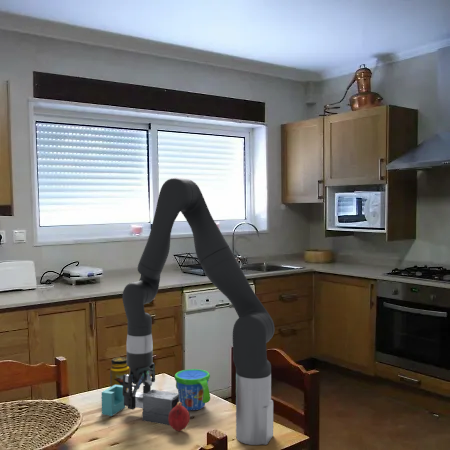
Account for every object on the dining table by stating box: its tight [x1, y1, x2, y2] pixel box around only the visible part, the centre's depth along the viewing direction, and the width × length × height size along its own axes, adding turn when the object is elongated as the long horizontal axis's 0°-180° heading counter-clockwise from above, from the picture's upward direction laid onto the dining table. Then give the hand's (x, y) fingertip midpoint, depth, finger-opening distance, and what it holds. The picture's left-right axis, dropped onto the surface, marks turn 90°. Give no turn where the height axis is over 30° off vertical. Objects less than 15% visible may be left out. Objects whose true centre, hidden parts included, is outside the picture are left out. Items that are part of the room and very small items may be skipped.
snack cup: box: [174, 368, 211, 411], centre depth 154 cm, size 16×10×10 cm
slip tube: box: [124, 390, 146, 409], centre depth 147 cm, size 14×3×3 cm, turn 68°
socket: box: [101, 385, 126, 417], centre depth 152 cm, size 4×7×7 cm, turn 158°
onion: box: [168, 401, 191, 433], centre depth 137 cm, size 6×6×8 cm
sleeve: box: [141, 389, 180, 426], centre depth 146 cm, size 9×6×7 cm, turn 68°
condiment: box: [101, 356, 130, 399], centre depth 164 cm, size 7×8×12 cm
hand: (139, 403), depth 148 cm, fingers open, 8 cm apart
